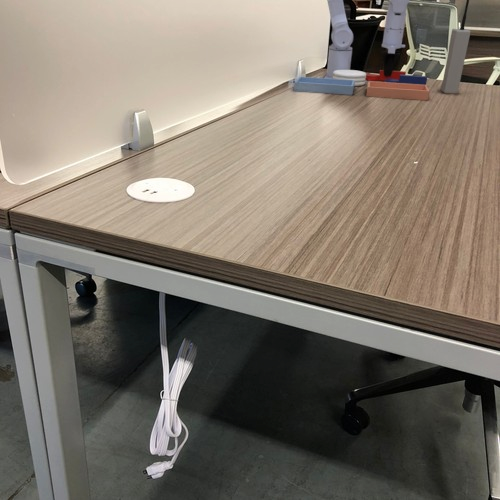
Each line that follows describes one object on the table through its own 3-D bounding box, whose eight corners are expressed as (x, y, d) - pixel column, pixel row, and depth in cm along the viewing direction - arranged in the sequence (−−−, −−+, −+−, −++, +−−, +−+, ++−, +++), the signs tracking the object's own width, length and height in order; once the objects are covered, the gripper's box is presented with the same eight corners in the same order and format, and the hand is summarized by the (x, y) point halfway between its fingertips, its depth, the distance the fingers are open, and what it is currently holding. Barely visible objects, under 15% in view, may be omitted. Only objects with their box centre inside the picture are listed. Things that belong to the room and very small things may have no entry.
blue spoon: (384, 85, 154) (385, 75, 153) (384, 83, 158) (385, 73, 157) (425, 88, 152) (427, 77, 151) (424, 85, 156) (426, 75, 154)
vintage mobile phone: (452, 90, 149) (472, -4, 137) (457, 94, 144) (478, -4, 133) (439, 90, 149) (458, -5, 137) (444, 93, 145) (463, -5, 133)
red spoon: (365, 80, 161) (366, 70, 160) (365, 78, 165) (366, 68, 164) (404, 82, 159) (406, 72, 158) (403, 80, 163) (405, 70, 162)
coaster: (325, 81, 157) (326, 70, 155) (352, 80, 161) (353, 68, 159) (344, 87, 149) (345, 75, 147) (371, 85, 153) (373, 73, 151)
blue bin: (299, 84, 151) (299, 76, 149) (354, 88, 147) (355, 80, 146) (293, 90, 142) (294, 82, 141) (352, 95, 139) (353, 85, 138)
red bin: (367, 89, 147) (368, 81, 146) (425, 93, 144) (426, 84, 143) (366, 96, 138) (367, 86, 137) (427, 100, 135) (429, 91, 134)
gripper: (408, 31, 148) (400, 79, 154) (406, 28, 160) (399, 72, 167) (384, 30, 149) (377, 78, 156) (384, 27, 162) (377, 71, 168)
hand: (387, 75), depth 161 cm, fingers closed on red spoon
